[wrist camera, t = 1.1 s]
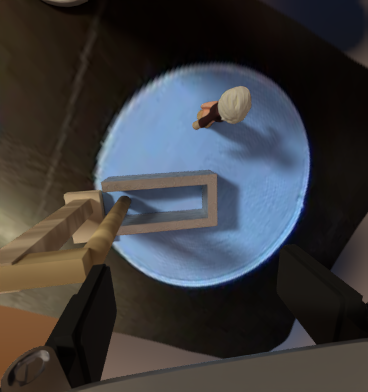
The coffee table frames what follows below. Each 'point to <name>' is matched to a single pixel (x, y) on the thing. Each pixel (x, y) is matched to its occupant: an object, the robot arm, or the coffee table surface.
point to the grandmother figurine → (225, 108)
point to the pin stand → (56, 237)
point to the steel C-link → (171, 218)
